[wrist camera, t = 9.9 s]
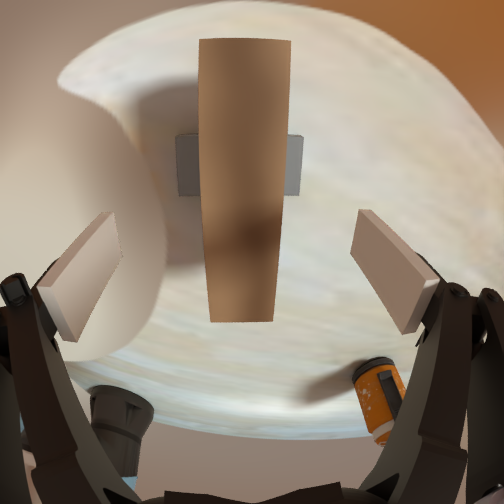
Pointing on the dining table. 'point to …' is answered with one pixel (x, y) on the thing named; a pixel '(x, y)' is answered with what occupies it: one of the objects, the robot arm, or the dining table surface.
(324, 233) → the dining table surface
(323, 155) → the dining table surface
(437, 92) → the dining table surface
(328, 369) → the dining table surface
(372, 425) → the canister
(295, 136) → the fulcrum
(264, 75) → the walnut bar
